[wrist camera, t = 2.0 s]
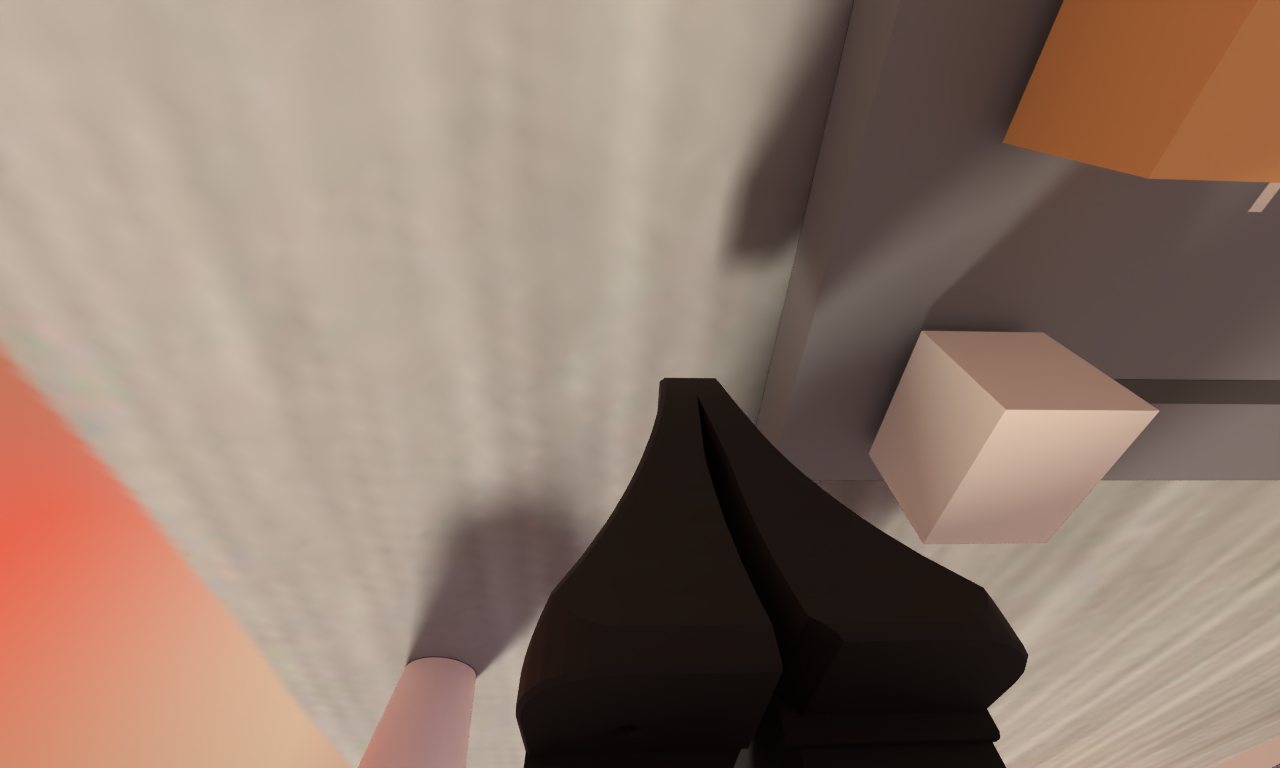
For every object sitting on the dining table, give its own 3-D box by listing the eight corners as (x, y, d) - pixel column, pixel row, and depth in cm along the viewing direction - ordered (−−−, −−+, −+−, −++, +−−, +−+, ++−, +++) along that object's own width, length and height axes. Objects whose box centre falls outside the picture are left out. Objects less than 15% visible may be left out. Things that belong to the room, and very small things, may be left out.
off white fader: (970, 454, 14) (1046, 542, 11) (868, 454, 13) (923, 543, 11) (1043, 332, 11) (1160, 410, 9) (921, 330, 11) (1005, 409, 9)
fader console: (1298, 439, 17) (1370, 480, 15) (753, 436, 16) (768, 480, 15) (2000, -188, 8) (2332, -245, 7) (917, -271, 8) (1000, -361, 6)
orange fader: (1153, 148, 9) (1353, 185, 7) (1002, 142, 9) (1147, 178, 6) (1341, -164, 7) (1755, -286, 4) (1140, -178, 7) (1449, -313, 4)
